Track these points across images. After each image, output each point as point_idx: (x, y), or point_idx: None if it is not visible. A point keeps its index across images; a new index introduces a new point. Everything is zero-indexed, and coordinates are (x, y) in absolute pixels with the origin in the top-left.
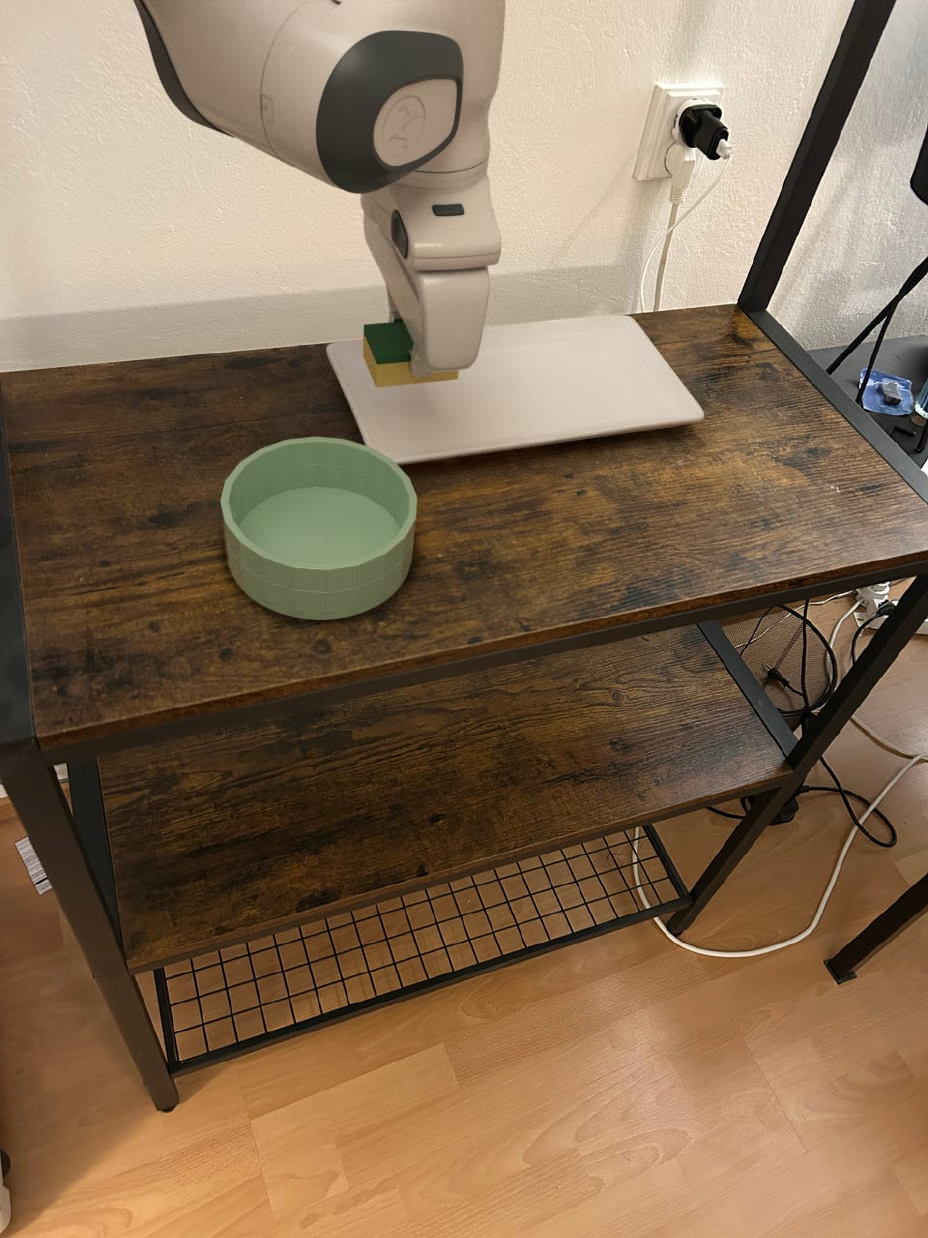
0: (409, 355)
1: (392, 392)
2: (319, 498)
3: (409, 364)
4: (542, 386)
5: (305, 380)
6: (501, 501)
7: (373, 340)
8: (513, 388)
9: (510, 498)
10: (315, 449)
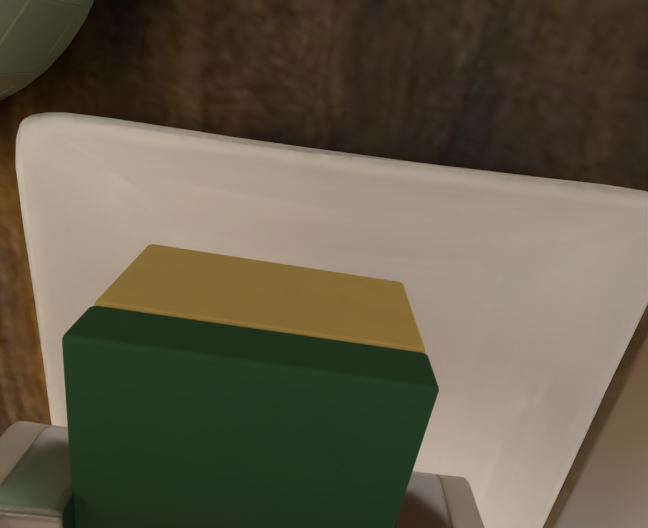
0: (34, 494)
1: (418, 308)
2: None
3: (54, 451)
4: None
5: (625, 106)
6: (9, 368)
7: (245, 377)
8: None
9: (17, 387)
10: None
